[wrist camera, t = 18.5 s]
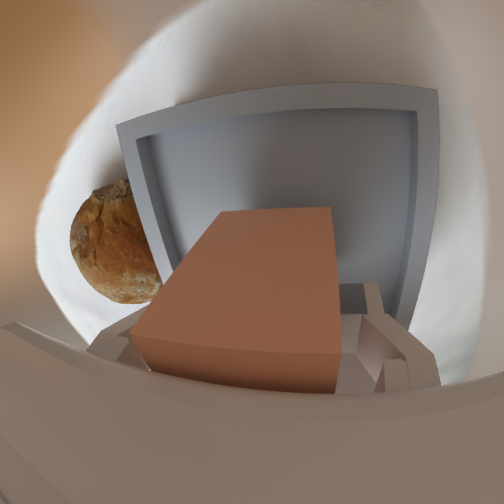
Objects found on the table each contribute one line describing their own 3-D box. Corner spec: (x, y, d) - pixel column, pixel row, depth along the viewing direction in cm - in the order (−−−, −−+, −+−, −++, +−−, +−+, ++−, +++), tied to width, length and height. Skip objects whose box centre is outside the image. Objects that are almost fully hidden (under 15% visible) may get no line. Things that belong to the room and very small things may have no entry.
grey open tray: (390, 299, 18) (410, 404, 11) (208, 297, 21) (163, 386, 14) (403, 91, 11) (492, 90, 4) (162, 115, 14) (53, 144, 7)
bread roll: (111, 203, 25) (59, 259, 21) (119, 140, 17) (34, 213, 12) (182, 266, 27) (134, 328, 23) (220, 228, 19) (148, 323, 14)
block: (329, 297, 12) (324, 439, 7) (238, 295, 14) (188, 421, 8) (330, 206, 10) (341, 353, 4) (220, 211, 11) (128, 333, 6)
